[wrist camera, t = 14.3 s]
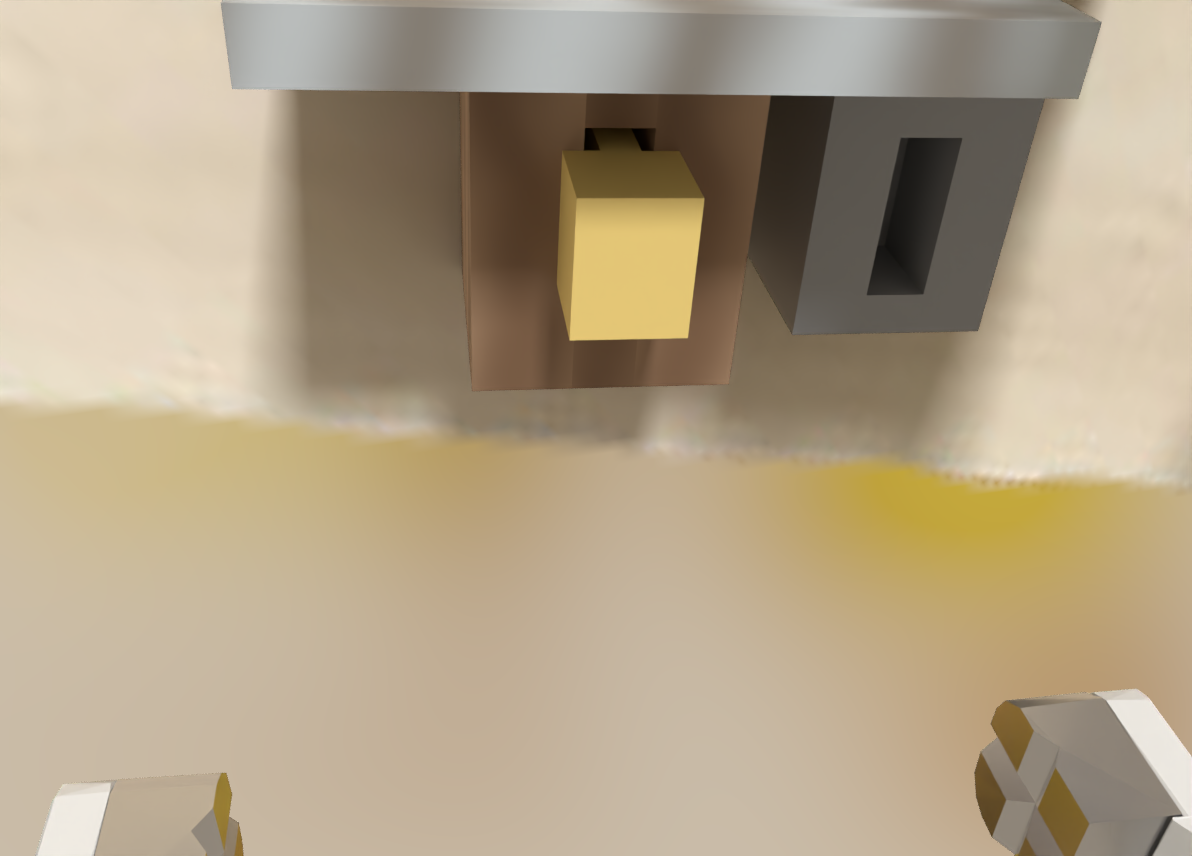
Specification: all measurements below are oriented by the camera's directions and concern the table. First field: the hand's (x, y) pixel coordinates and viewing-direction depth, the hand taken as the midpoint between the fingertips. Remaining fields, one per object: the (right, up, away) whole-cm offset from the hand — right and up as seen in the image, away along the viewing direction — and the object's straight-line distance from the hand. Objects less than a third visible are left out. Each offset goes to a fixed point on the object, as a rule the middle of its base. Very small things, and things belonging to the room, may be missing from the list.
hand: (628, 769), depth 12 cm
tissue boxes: (-1, +17, +35) cm, 39 cm away
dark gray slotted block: (+11, +16, +37) cm, 42 cm away
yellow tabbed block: (0, +13, +30) cm, 33 cm away
